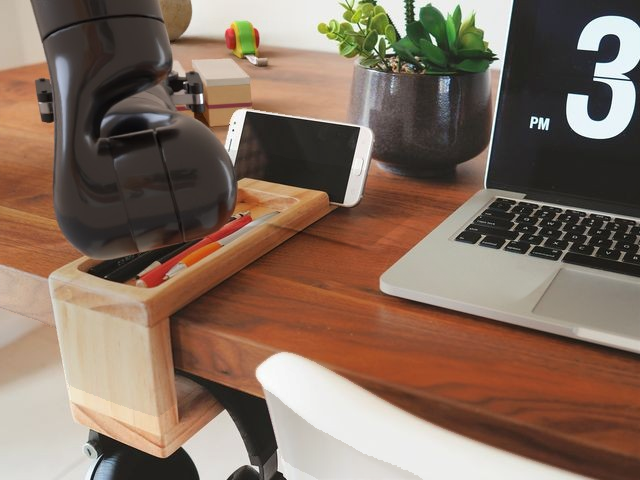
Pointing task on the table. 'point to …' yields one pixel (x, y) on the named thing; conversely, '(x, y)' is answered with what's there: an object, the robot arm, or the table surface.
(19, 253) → the table surface
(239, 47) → the toy measuring tape
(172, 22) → the fossilized egg
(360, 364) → the table surface
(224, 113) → the cake
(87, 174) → the robot arm
